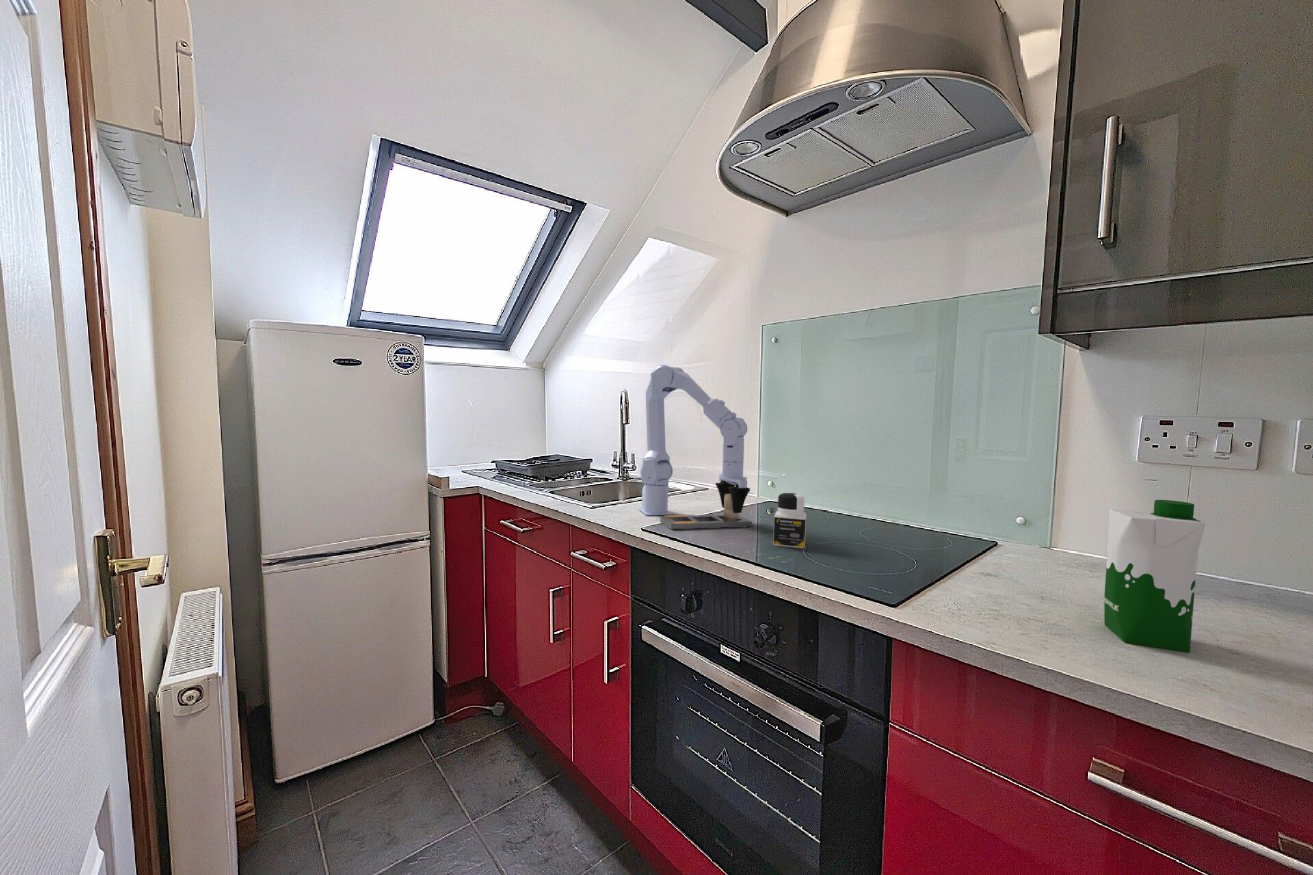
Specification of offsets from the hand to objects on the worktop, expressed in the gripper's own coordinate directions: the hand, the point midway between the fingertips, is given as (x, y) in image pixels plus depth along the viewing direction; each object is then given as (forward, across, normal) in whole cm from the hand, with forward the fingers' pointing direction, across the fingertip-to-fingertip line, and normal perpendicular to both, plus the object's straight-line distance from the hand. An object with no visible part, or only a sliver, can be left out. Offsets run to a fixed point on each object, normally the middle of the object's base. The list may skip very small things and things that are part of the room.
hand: (731, 510), depth 145 cm
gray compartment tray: (+4, 0, +8) cm, 8 cm away
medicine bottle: (+4, -23, -5) cm, 24 cm away
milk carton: (+4, -81, -29) cm, 86 cm away
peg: (+4, 0, 0) cm, 4 cm away
